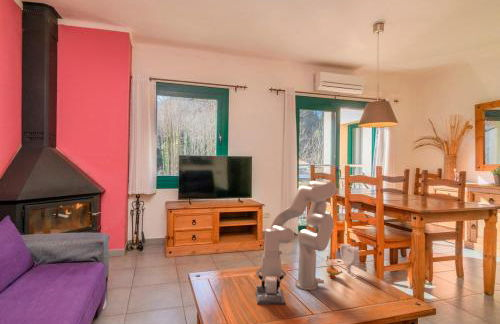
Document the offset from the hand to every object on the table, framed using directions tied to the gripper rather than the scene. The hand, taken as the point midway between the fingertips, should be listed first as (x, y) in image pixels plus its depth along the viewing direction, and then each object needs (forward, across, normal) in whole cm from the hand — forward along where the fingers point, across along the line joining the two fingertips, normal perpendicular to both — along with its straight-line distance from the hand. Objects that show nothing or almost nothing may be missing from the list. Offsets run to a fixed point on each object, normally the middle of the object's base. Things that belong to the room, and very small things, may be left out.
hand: (270, 287), depth 148 cm
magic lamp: (+5, -41, -26) cm, 49 cm away
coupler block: (+4, 0, 0) cm, 4 cm away
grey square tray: (+5, 0, 0) cm, 5 cm away
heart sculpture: (+5, -53, -33) cm, 62 cm away
